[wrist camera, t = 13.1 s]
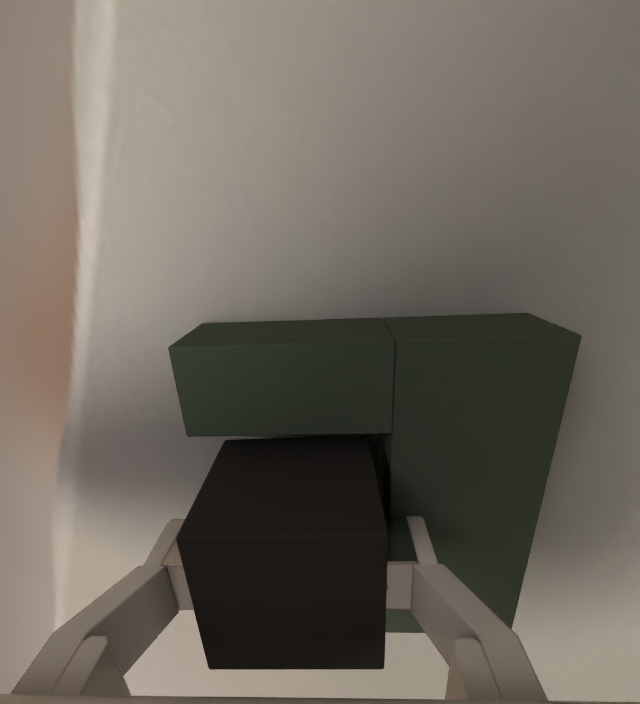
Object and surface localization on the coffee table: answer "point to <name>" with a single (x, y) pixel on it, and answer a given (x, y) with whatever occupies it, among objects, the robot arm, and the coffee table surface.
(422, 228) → the coffee table surface
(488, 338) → the u-shaped block
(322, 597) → the black matte cube
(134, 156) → the coffee table surface
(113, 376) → the coffee table surface
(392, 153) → the coffee table surface
